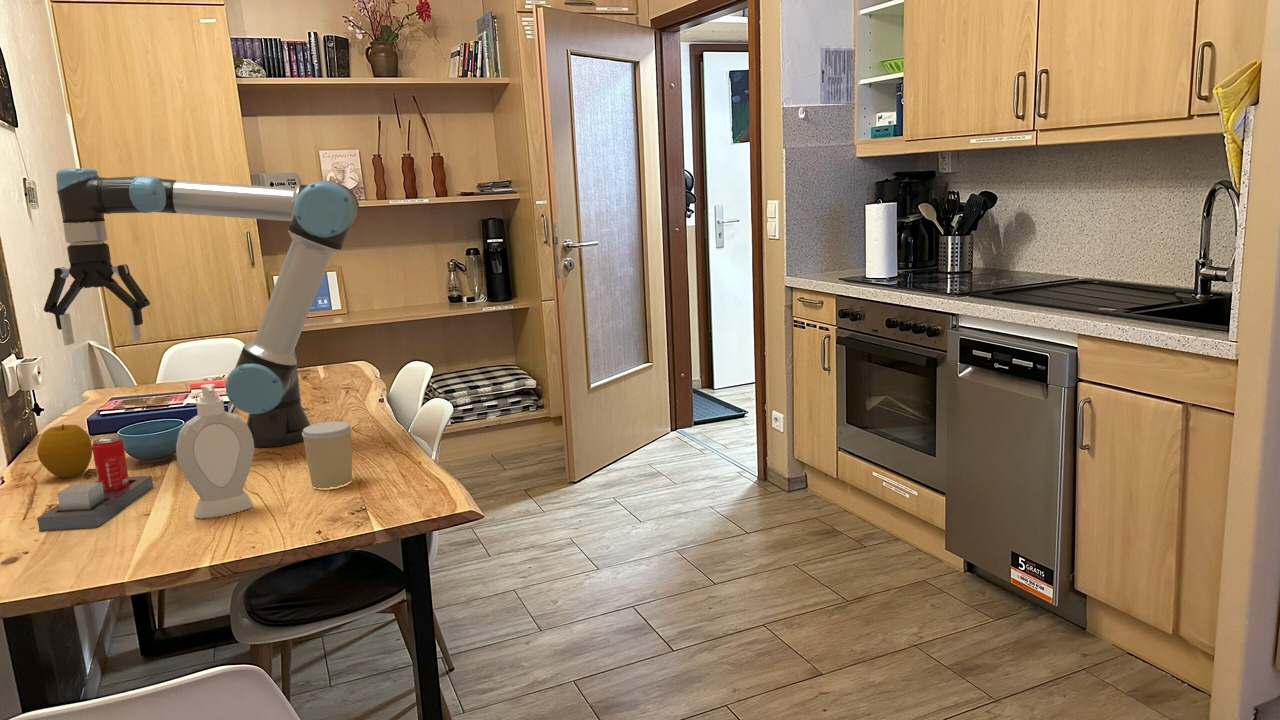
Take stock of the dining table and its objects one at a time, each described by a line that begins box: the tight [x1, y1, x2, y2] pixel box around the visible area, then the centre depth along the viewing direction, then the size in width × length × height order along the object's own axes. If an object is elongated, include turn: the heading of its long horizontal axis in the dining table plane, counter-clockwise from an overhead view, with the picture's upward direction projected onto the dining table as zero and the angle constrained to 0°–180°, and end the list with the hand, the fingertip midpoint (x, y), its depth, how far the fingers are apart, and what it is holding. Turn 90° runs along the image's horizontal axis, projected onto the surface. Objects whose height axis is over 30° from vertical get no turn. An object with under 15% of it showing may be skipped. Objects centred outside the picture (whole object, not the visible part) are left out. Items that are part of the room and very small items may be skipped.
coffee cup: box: [302, 421, 353, 488], centre depth 175 cm, size 9×9×12 cm
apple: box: [36, 423, 93, 479], centre depth 186 cm, size 10×10×12 cm
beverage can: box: [92, 435, 129, 491], centre depth 171 cm, size 5×5×12 cm
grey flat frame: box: [36, 475, 154, 532], centre depth 166 cm, size 10×22×6 cm, turn 5°
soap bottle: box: [175, 383, 255, 520], centre depth 159 cm, size 13×8×24 cm, turn 122°
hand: (103, 342), depth 188 cm, fingers open, 13 cm apart
